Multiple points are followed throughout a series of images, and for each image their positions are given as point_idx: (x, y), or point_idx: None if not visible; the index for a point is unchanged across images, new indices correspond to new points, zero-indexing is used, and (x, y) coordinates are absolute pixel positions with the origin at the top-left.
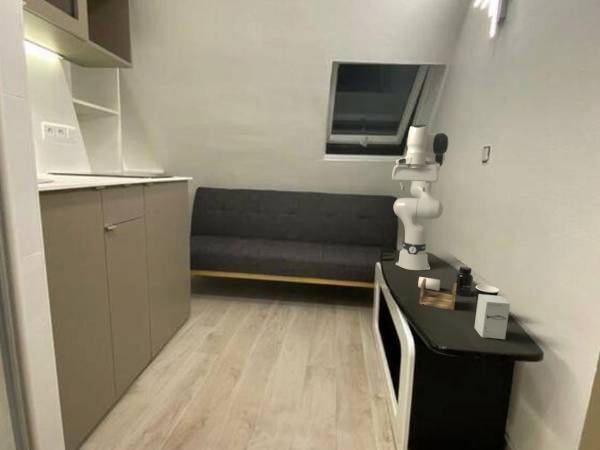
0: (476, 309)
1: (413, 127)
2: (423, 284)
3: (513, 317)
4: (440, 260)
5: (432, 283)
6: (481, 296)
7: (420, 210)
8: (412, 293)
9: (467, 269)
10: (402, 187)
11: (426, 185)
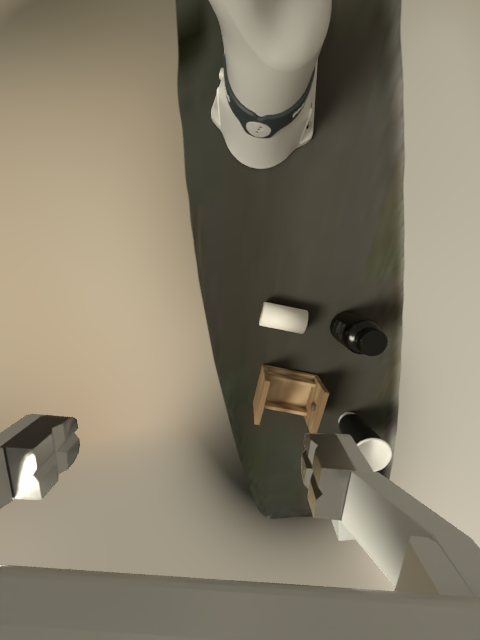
0: (340, 425)
1: None
2: (259, 419)
3: (394, 413)
4: None
5: (288, 330)
6: (338, 523)
7: None
8: (245, 355)
9: (374, 355)
10: (17, 489)
11: (382, 568)
